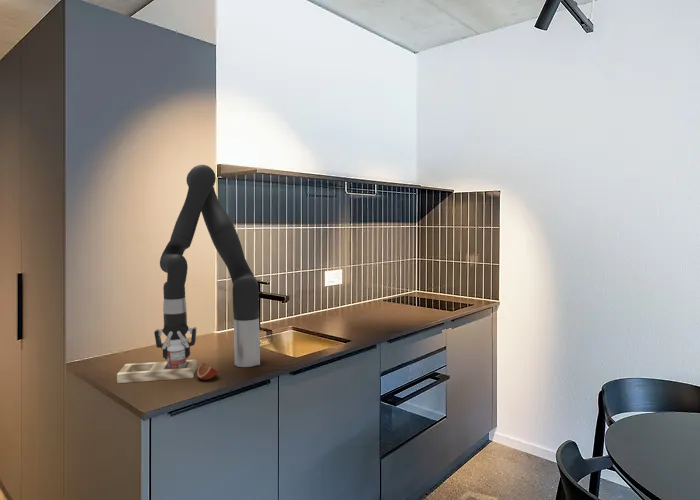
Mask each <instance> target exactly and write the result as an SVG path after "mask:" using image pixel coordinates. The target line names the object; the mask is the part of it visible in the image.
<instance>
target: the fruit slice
mask: <svg viewBox="0 0 700 500" xmlns="http://www.w3.org/2000/svg"><path fill="white" fill-rule="evenodd" d="M198 365H199V366H197V369H196V375H197V378H199V379H201V380H203V381H204V380H205V381H206V380H207V381H208V380H211V379H212V378H214V377H215V376H216V375H217V374H218V373H219V370H217V369H216V368H214V367H212V366H211V365H209V364H207V363H206V362H205V363H204V362H202V361H201V362H200V364H198Z"/></svg>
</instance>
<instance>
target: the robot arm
mask: <svg viewBox="0 0 700 500" xmlns="http://www.w3.org/2000/svg"><path fill="white" fill-rule="evenodd" d="M216 180H217V179H216V173H215V170H214V169H212V168H211V166H209V165H206V164H198V165H195V166H194V167H193V168H191V169H190V171H189V172H188V173H187V175H186V185H187V187H188V189H187V194H186V198H185V200H184V202H183V205H182V207H181V210H180V212H179V215H178V217H177V219H176V221H175V225H174V226H173V230H172V233H171V235H170V239H169V241H168V243H167V244H166V246H165V248H164V250H163V252H162V254H161V256H160V259H159V267H160V269H161V271H163V272H164V273H166V274H167V276H166V281H165V282H164V284H163V287H162V288H163V289H162V291H163V304H162V312H163V328H162V329H159V328H157V329H155V331H154V332H153V333H154V338H155V345H156V348H161V350H162V358H164V360H167V347H168V346H169V340H176V339H181V340H182V342H183V344H184V345H185V346H186V347H185V358H186V359H188V358H189V357H190V355H191V347H192V346H195V344H196V339H197V330H198V329H197V327H196V326H194V327H189V326H188V321H187V320H188V315H187V312H188V311H187V301H186V286H185V285H186V282H187V281H186V280H187V275H188V268H189V267H188V262H187V259H186V257H185V256H184V253H185V251H186V250H187V249H189V248H190V247H191V244H192V243H193V239H194V236H195V233H196V231H197V226H198V223H199V221H200V220H199V219H200V216H201V215H202V218H203V220H204V224H205V226H206V228H207V231H208V234H209V236H210V239H211V241H212V244H213V246H214V248H215V249H216V251H217V253H218V255H219V256H220V259H221V260H222V261H223V263H224V264H225V266H226V269H227V270H228V273H229V276H230V281H231V282H232V311H233V312H232V313H233V314H232V315H233V342H234V345H233V346H234V365H235V366H236V367H238V368H239V367H240V368H251V367H255V366H260V365H261V345H260V344H261V342H260V338H261V337H260V289H259V283H258V280H257V278H256V277H255V275H254V273H253V272H252V270H251V268H250V266H249V264H248V262H247V260H246V257H245V254H244V250H243V246H242V243H241V240H240V238H239V235H238V232H237V229H236V227H235V225H234V223H233V220H232V219H231V218H230V216H229V214H228V213H227V212H226V210H225V209H224V208H223V206H222V204H221V203H220V201H219V199H218V196H217V192H216V190H215V188H214V186H215V184H216ZM188 332H189V334H190V335H191V339H190V341H189V340H188V337H187V335H186V334H187V333H188ZM162 334H164V335H165V338H166V339H165V341H164V342H163V343H162V338H161V336H162Z"/></svg>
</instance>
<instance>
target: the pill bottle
mask: <svg viewBox="0 0 700 500" xmlns="http://www.w3.org/2000/svg"><path fill="white" fill-rule="evenodd" d="M185 347H186V346H185V345H184V343H183V342H182V340H181V339H176V340H169V343H168V345H167V359H166V360H167V362H168V369H181V368H186V360H187V358H185Z"/></svg>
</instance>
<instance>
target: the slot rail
mask: <svg viewBox="0 0 700 500" xmlns="http://www.w3.org/2000/svg"><path fill="white" fill-rule="evenodd" d="M197 369H198V361H197V359H186V368H181V369H168V362H167V361H166V360H165V361H153V362H138V363H137V362H136V363H135V362H134V363H125V364H124V365H123V367H122V368H121V369H120V370H119V371H118V373H116V383H117V384H123V383H124V384H126V383H127V384H128V383H139V382H152V381H166V380H180V379H181V380H182V379H194V377H195V374H196V372H197Z"/></svg>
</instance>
